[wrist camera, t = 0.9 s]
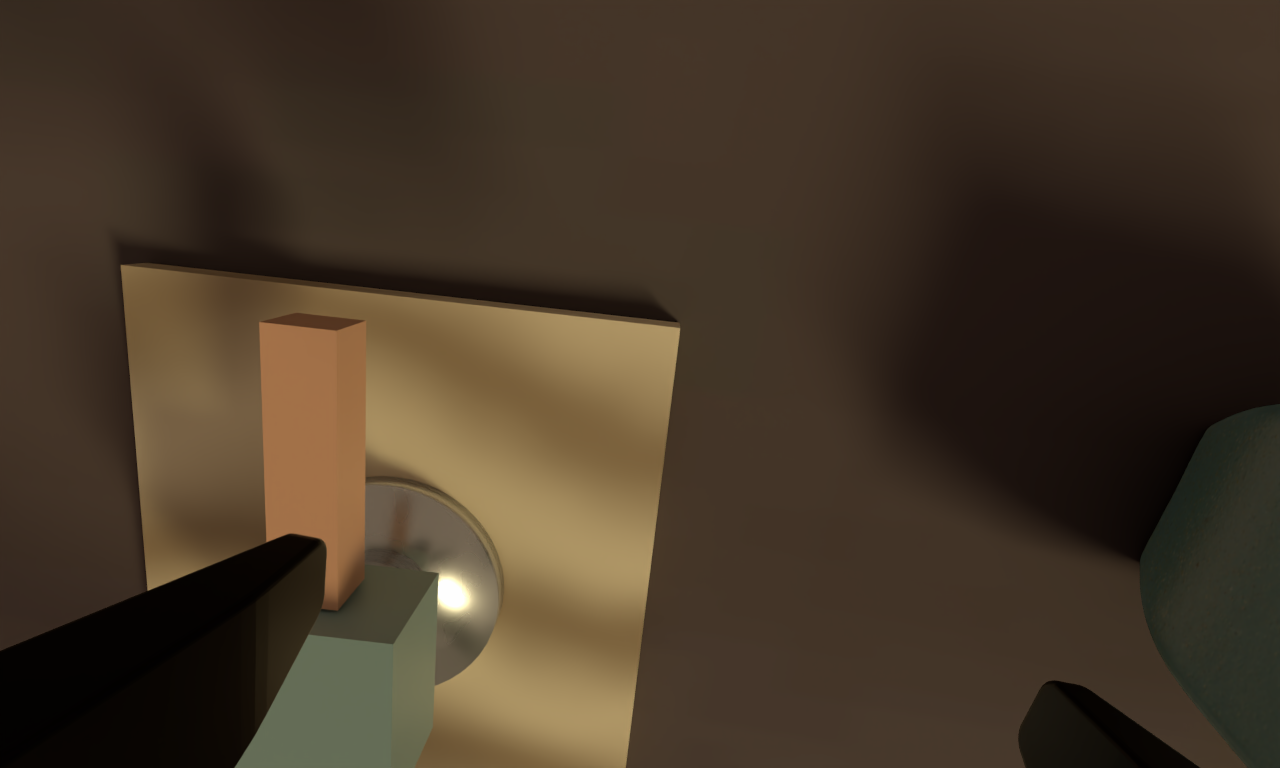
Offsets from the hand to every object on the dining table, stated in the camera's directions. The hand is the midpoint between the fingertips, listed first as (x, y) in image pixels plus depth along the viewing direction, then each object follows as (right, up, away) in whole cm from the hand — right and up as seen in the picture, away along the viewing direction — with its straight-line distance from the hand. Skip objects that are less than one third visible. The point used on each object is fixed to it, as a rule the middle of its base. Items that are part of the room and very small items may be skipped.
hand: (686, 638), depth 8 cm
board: (-8, -3, +14) cm, 16 cm away
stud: (-8, -3, +14) cm, 16 cm away
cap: (-8, -1, +9) cm, 12 cm away
